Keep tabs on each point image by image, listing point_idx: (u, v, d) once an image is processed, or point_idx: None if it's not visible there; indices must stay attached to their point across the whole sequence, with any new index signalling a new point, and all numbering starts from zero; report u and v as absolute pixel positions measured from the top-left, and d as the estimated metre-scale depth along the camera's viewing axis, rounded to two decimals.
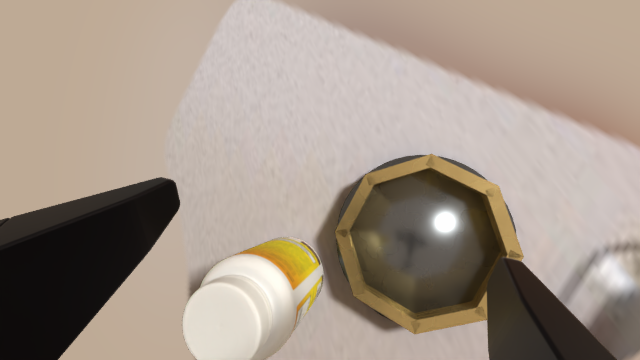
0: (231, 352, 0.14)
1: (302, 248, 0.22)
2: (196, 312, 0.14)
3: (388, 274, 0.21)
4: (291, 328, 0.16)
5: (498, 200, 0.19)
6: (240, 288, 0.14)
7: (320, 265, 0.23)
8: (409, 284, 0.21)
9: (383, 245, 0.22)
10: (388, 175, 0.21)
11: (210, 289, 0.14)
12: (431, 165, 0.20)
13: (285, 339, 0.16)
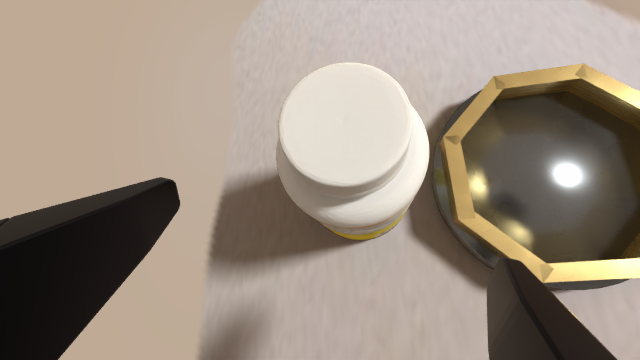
0: (355, 156, 0.09)
1: None
2: (308, 98, 0.09)
3: (501, 208, 0.16)
4: (420, 183, 0.11)
5: None
6: (386, 74, 0.09)
7: None
8: (529, 224, 0.16)
9: (498, 171, 0.17)
10: (523, 81, 0.17)
11: (338, 68, 0.09)
12: (582, 76, 0.16)
13: (410, 196, 0.10)
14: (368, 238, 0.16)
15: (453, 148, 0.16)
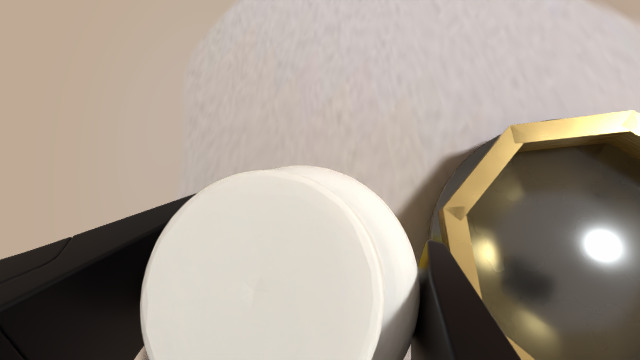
0: None
1: None
2: (197, 238, 0.05)
3: (521, 305, 0.12)
4: (405, 354, 0.06)
5: None
6: (337, 196, 0.05)
7: None
8: (561, 332, 0.12)
9: (517, 252, 0.13)
10: (551, 132, 0.12)
11: (253, 183, 0.05)
12: (631, 128, 0.12)
13: None
14: None
15: (456, 225, 0.12)
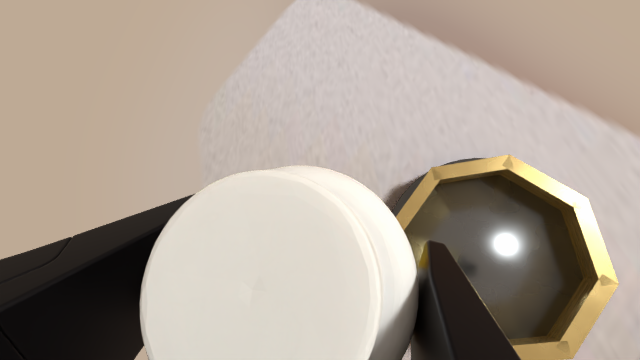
0: None
1: None
2: (195, 238, 0.05)
3: None
4: (404, 353, 0.06)
5: (587, 214, 0.17)
6: (335, 195, 0.05)
7: None
8: None
9: None
10: (458, 171, 0.18)
11: (251, 183, 0.05)
12: (508, 167, 0.18)
13: None
14: None
15: None
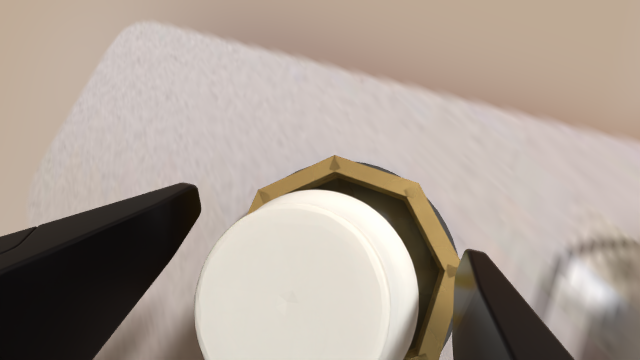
0: None
1: None
2: (239, 259, 0.06)
3: None
4: (406, 351, 0.08)
5: (421, 201, 0.15)
6: (353, 225, 0.06)
7: None
8: None
9: None
10: (285, 187, 0.16)
11: (283, 214, 0.06)
12: (335, 169, 0.16)
13: None
14: None
15: None
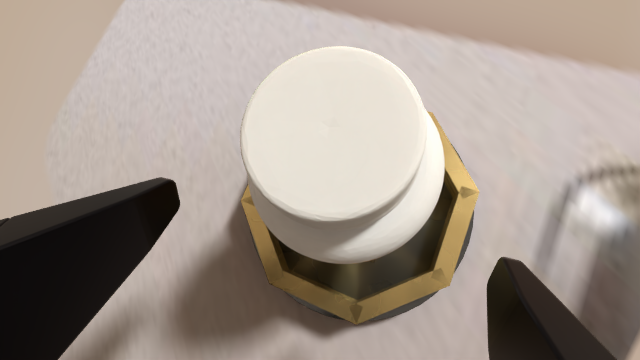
0: (346, 179, 0.06)
1: None
2: (282, 95, 0.07)
3: None
4: (433, 207, 0.08)
5: None
6: (388, 62, 0.07)
7: None
8: None
9: None
10: None
11: (323, 55, 0.07)
12: None
13: (420, 224, 0.08)
14: None
15: (252, 210, 0.16)
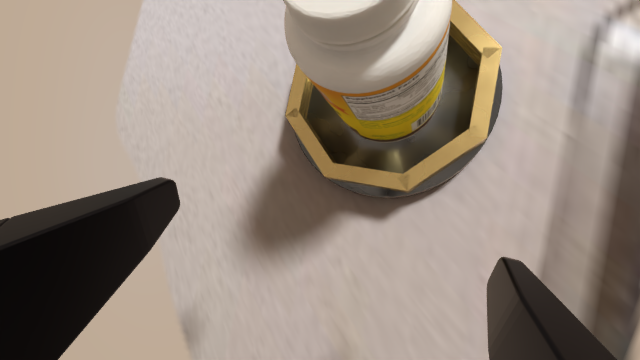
0: None
1: None
2: None
3: (361, 145, 0.18)
4: (447, 17, 0.09)
5: None
6: None
7: None
8: (388, 147, 0.17)
9: None
10: None
11: None
12: None
13: (438, 32, 0.09)
14: (405, 133, 0.15)
15: (296, 121, 0.18)
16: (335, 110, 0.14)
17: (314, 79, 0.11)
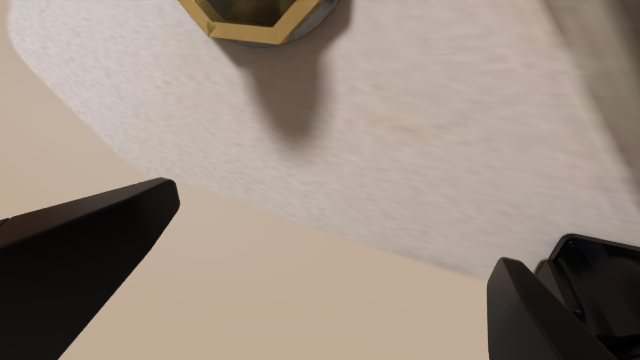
0: None
1: None
2: None
3: None
4: None
5: None
6: None
7: None
8: None
9: None
10: None
11: None
12: None
13: None
14: None
15: (218, 30, 0.18)
16: None
17: None
